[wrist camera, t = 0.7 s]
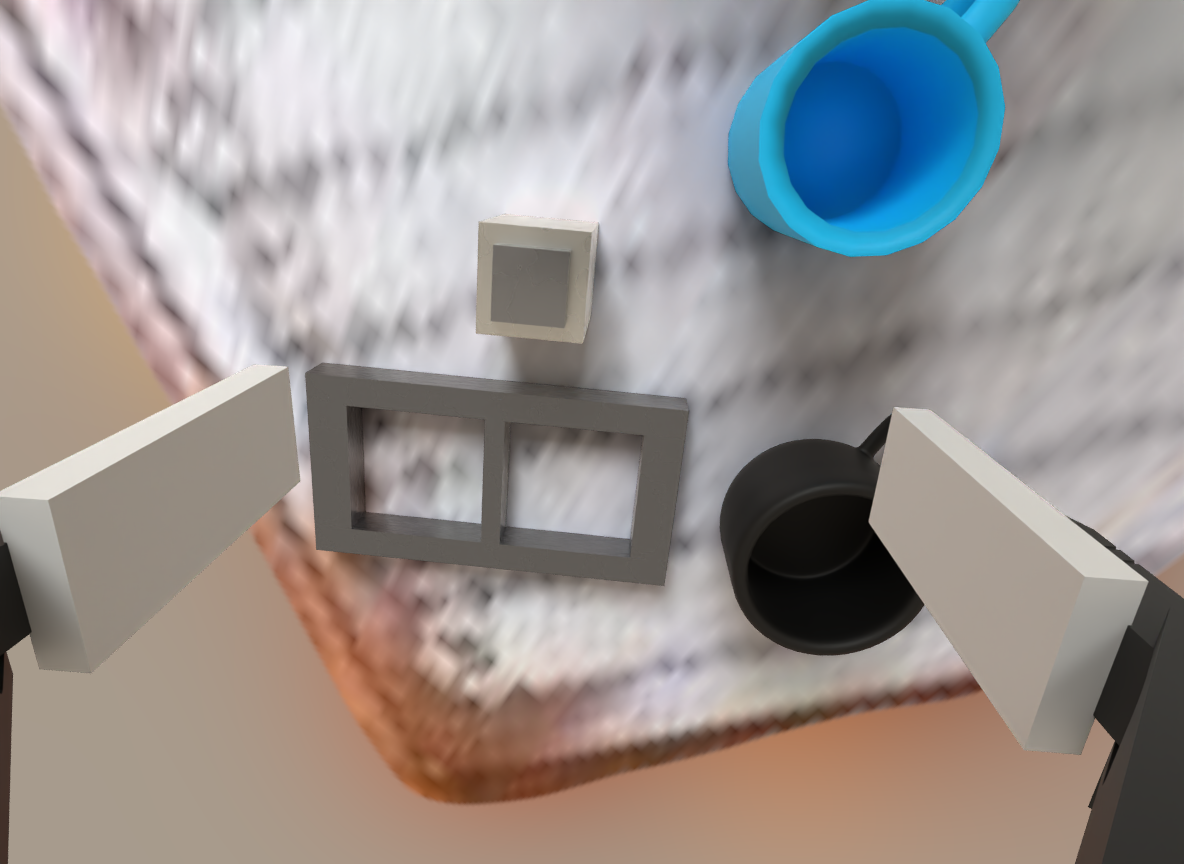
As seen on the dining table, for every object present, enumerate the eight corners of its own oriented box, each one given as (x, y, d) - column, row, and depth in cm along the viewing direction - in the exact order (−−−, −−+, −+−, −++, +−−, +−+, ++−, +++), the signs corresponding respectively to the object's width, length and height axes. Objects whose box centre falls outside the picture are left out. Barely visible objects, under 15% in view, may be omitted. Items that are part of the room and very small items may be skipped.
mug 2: (814, 602, 39) (851, 689, 33) (682, 525, 38) (693, 599, 31) (959, 436, 36) (1035, 497, 29) (818, 345, 34) (863, 386, 28)
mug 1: (810, 274, 33) (863, 304, 25) (689, 151, 32) (708, 143, 24) (1024, 66, 30) (1160, 28, 22) (900, -85, 28) (1001, -183, 20)
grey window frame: (322, 362, 36) (305, 373, 34) (686, 398, 36) (688, 410, 34) (331, 531, 39) (316, 549, 38) (662, 566, 39) (664, 585, 37)
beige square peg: (505, 213, 33) (474, 222, 27) (598, 222, 33) (590, 233, 26) (501, 307, 34) (471, 337, 28) (590, 316, 34) (581, 348, 28)
